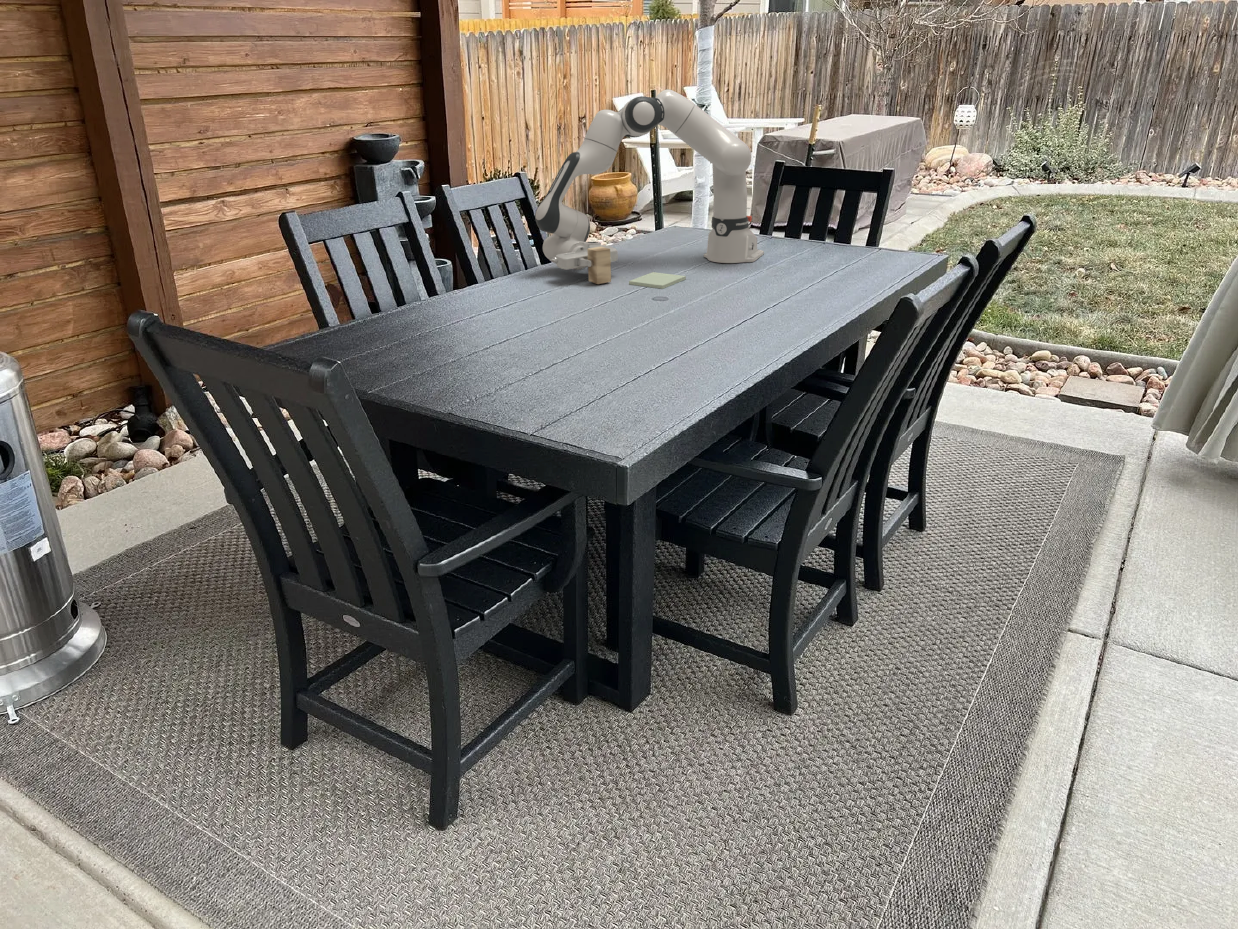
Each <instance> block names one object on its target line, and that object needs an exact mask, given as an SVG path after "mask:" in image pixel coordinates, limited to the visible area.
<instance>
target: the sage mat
mask: <svg viewBox="0 0 1238 929" xmlns="http://www.w3.org/2000/svg"><path fill="white" fill-rule="evenodd" d="M686 278H687V276H686V275H682V274H671V273H663V272H654V271H652V272H650V273H647V274H644V275H641V276H639V277H636V278H633V279H631V280H629V281H628V285H631V286H638V287H646V288H654V289H661V290H663V289H666V288H668V287H670V286H673V285H675V284H678V283H680V282H682V281H685V280H686Z"/></svg>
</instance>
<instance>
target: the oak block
mask: <svg viewBox="0 0 1238 929" xmlns="http://www.w3.org/2000/svg"><path fill="white" fill-rule="evenodd" d="M587 251H588V260H593V261H594V266H592V267H588V266H587V267H588V268H587V272H588V273H587V274H588V282H589V283H593V284H597V285H600V284H605V283H606V284H607V283H611V282H612V270H611V269H612V266H611V264H612V262H611V260H610V249H609V248H605V247H595V248H588V249H587Z"/></svg>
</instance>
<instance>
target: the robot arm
mask: <svg viewBox="0 0 1238 929" xmlns="http://www.w3.org/2000/svg"><path fill="white" fill-rule="evenodd" d="M658 125H659V126H662V127H664V128H666V129H667V130H668V131H670V132H671V133H672V134H673V135H675V136H676V137H677V138H679V140H681V141H682V142H683V143H685V145H688V147H690V148H691V149H692V150H694V151H695V152H696V153H698V154H699V155H701V157H703V158H704V159H706V160H707V161H708V162H709V163H710V164H712V165H711V166H712V184H713V185H712V187H713V188H712V190H713V203H712V204H713V208H712V209H713V211H712V212H713V214H712V217H711V228H712V229H711V231H709V233H708V235H707V236H708V237H707V245H706V246H707V247H706V252H705V253H703V257H704V258H706V259H707V260H708V261H709V262H714V263H718V264H719V263H722V264H739V263H754V262H756V261H757V260H758V259H759V258H760V257H762V256H763V255H764V254H765V251H764V250H762V249H758V237H757V236H756V234H754V232H753V231H752V230H751V229H750V228H749V227H750V223H752V219H753V217H752V215H747V209H748V187H747V185H748V184H747V173H746V172H747V170H748V169H749V168H750V165H751V162H752V152H751V149H750V146H748V144H747V143H746V142H744V141H743V140H742V139H741V138H739V137H738V136H736V135H735V134H734V133H732V132H731V131H730V130H729V129H727V128H726V127H725V126H723V125H722V124H721V123H720V122H718V121H717V120H716V119H715V118H714V117H712V116H710V114H708V112H707V113H706V111H704V110H703V109H702V108H700V107H699V106H698V105H697V104H696V103H694V102H692V100H690V99H689V98H687V97H685V96H684V95H682V94H681V93H678V92H676V91H675V90H672V89H664V90H662V91H660V92H658V94H657V95H656V96H655V97H650V96H642V95H641V96H636V97H633V98H632V99H630V100H629V101H627V102H626V103H625V104H624V106H623V107H622V108H621V109H619V111H615V110H612V109H601V110H599V111H597V113H596V114H595V115H594V118H593V119H592V121H591V123H590V124H589V126H588V129H587V131H586V134H585V136H584V139H583V142H582V143H581V145H580V147H578V149H577V150H576V151H574V152H570V154H569V155H568V156H567V157H566V158H565V160H564V162H563V163H562V165H561V167H560V168H559V171H558V172H557V174H556V175H555V178H554V179H553V181H552V183H551V185H550V187H549V189H548V191H547V193H546V195H545V196H544V198H543V199H542V201H541V202H540V203H539V204H538V206H537V208H536V210H535V213H534V218H535V219H534V220H535V222H536V225H537V227H538V228H539V230H540V231H542V232H545V233H549V234H552V235H550V236H547V237H546V238H545V239H544V240H543V244H542V252H543V254H544V256H545V257H546V258H547V259H548V260H549V261H551V263H554V264H555V265H556V267H557V268H559V269H561V270H563V271H566V270H567V271H568V270H575V271H581V270H583V269H585V268H587V267H592V266H594V261H593V260H588V251H587V249H588V248H595V247H605V248H609V249H610V260H611V263H613V262H617V261H618V260H619V258H618V257H619V254H618V252H619V251H618V250H617V248H615V247H612V246H610V245H606V244H602V243H601V241H588V239H589V235H590V232H591V223H590V218H589V217H588V215H587V214H586V213H584V212H582V211H580V210H577V209H576V208H575V209H574V208H572V207H570V206H567V205H565V204H563V201H564V198H565V197H566V195H567V193H568V191H569V189H570V187H571V185H572V184H573V182H574V180H575V179H576V178H578V177H579V176H583V175H599V174H602V173H604V172H607V171H608V170H609V169H610V168H611V166H612V165H613V163H614V161H615V158H616V155H617V154H618V150H619V147H620V144H621V143H622V141H623V139H624V137H627V138H640V137H642V136H645V135H647V134H649V133H650V132H651V131H652V130H653V129H654V128H656V127H657V126H658Z"/></svg>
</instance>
